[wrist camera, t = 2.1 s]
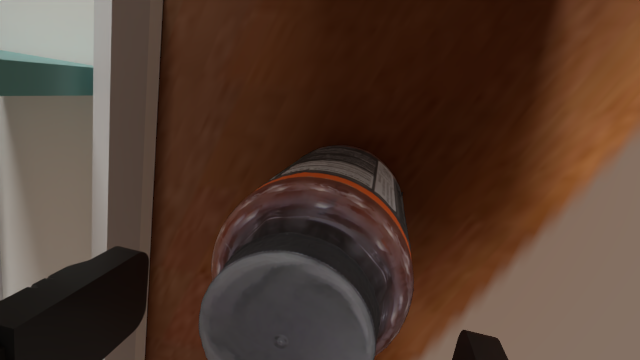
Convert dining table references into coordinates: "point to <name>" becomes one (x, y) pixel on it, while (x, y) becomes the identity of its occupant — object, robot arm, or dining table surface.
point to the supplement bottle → (312, 264)
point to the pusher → (43, 76)
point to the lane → (79, 142)
